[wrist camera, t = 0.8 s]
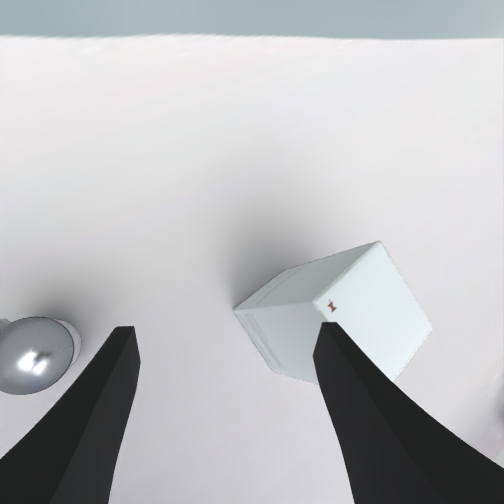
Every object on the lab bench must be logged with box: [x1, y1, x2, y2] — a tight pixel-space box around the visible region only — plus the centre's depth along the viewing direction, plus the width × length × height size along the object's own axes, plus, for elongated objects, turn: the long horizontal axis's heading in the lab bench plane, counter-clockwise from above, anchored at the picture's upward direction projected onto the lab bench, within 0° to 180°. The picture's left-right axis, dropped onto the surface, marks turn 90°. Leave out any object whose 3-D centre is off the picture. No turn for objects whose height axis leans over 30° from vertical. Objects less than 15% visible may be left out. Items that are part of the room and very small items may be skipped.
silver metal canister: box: [0, 317, 81, 395], centre depth 19 cm, size 4×5×6 cm
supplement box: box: [234, 241, 433, 385], centre depth 24 cm, size 7×7×13 cm
